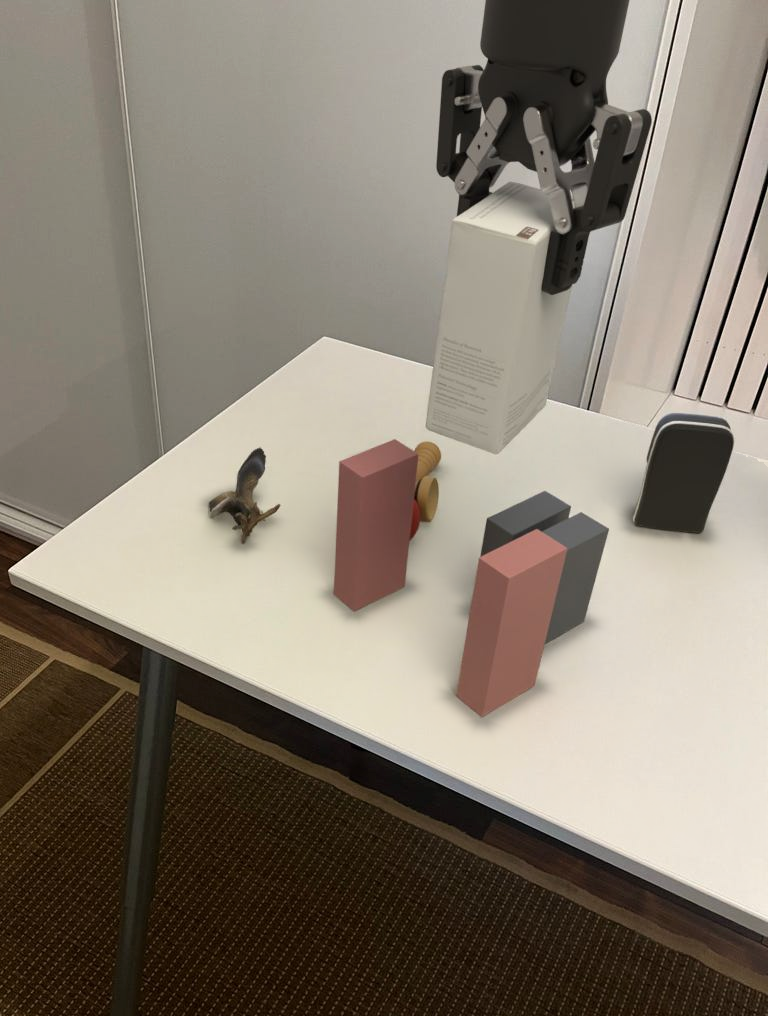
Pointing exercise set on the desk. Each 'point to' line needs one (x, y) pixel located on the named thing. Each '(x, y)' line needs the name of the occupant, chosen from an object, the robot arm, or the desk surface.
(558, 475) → the desk surface
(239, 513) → the eagle figurine
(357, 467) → the rose book
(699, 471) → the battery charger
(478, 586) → the rose book
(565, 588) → the grey book
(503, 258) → the cosmetic box
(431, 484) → the kendama
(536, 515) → the grey book
